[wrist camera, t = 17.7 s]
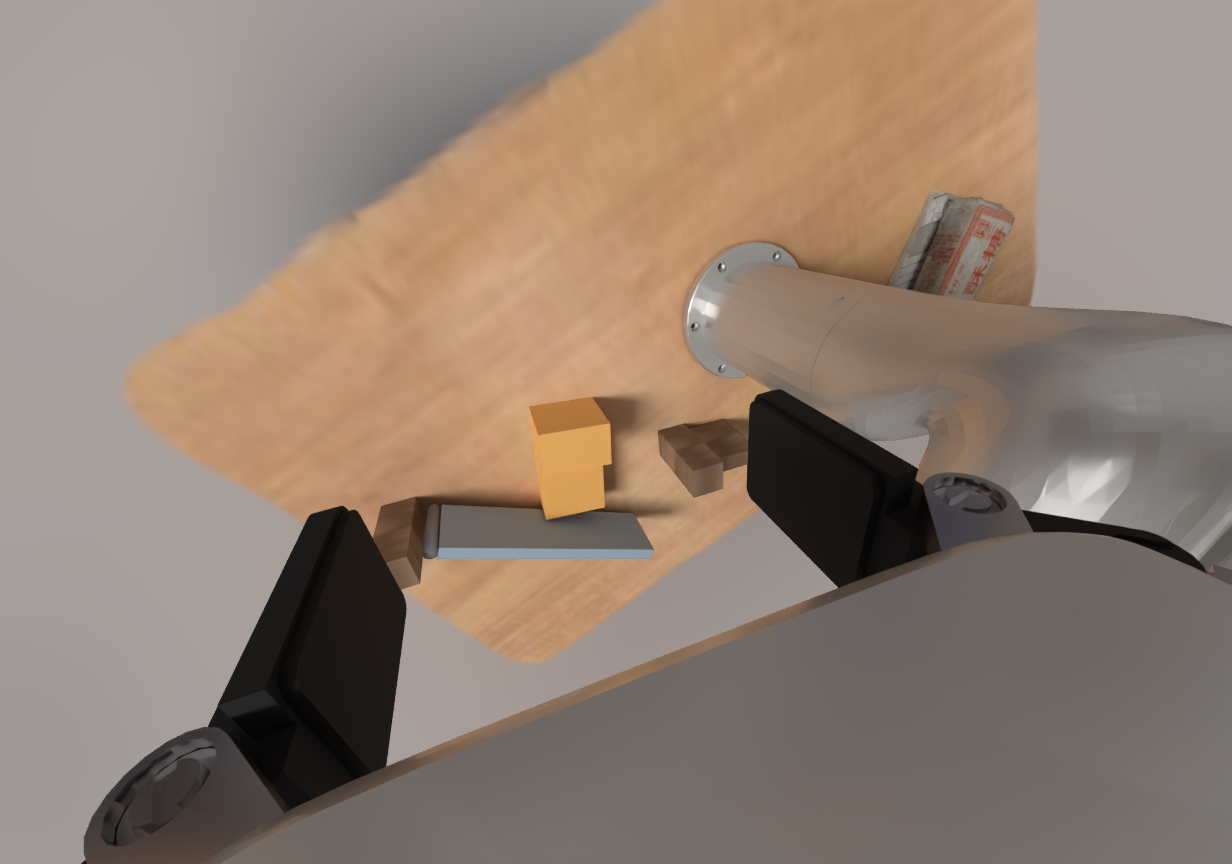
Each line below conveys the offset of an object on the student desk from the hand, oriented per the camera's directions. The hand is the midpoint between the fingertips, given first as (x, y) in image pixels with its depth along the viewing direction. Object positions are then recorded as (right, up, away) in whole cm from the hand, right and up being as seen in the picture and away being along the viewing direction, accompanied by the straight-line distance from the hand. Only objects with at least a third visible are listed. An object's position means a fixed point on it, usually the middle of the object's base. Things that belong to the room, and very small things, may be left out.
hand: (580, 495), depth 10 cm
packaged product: (+34, +17, +38) cm, 53 cm away
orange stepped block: (-4, 0, +33) cm, 33 cm away
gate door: (-7, -7, +34) cm, 35 cm away
